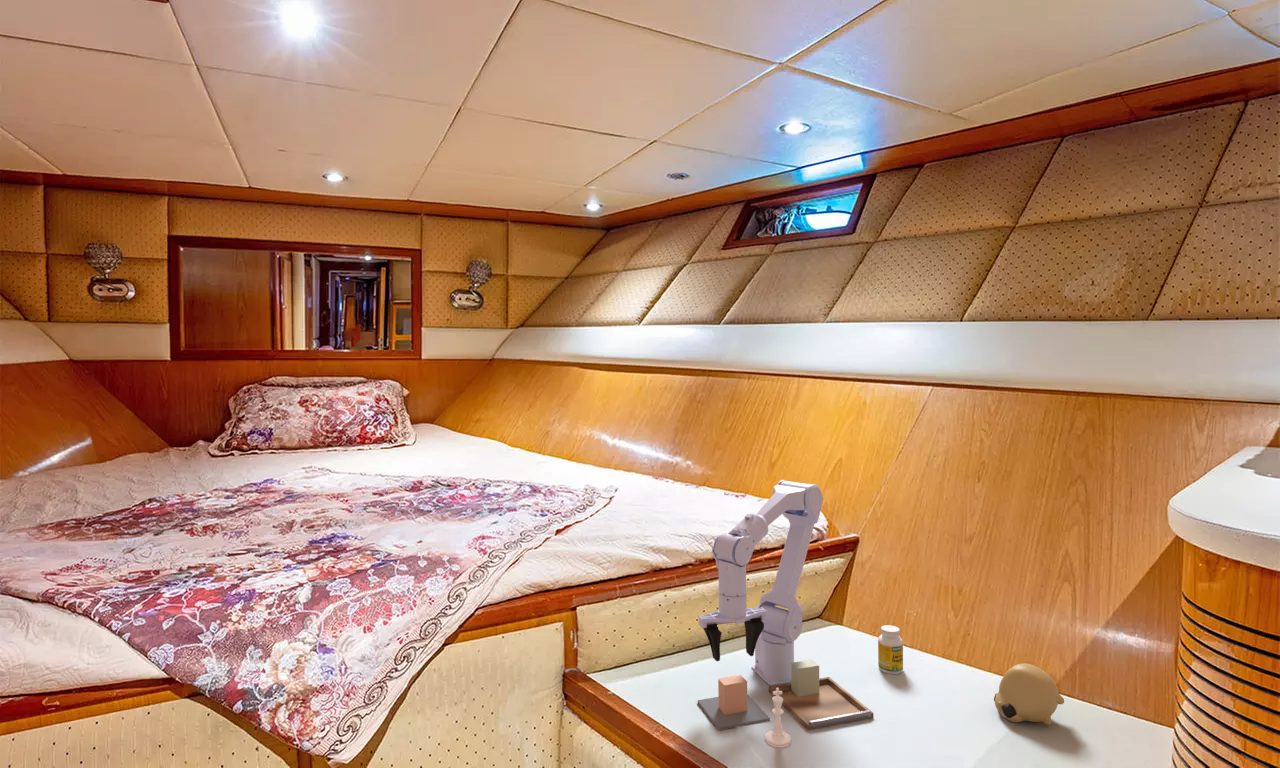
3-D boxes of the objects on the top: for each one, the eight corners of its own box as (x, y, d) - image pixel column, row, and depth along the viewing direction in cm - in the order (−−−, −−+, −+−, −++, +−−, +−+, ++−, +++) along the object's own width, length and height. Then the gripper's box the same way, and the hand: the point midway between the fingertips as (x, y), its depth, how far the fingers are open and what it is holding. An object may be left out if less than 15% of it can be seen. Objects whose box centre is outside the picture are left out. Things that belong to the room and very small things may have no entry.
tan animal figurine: (1018, 723, 137) (975, 684, 139) (1062, 684, 135) (1018, 645, 137) (1033, 749, 127) (987, 706, 130) (1080, 707, 125) (1033, 664, 127)
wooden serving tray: (769, 692, 144) (768, 685, 144) (828, 682, 148) (828, 675, 148) (807, 731, 129) (807, 723, 129) (873, 718, 133) (873, 710, 133)
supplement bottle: (887, 662, 158) (887, 621, 157) (908, 670, 153) (908, 629, 153) (873, 668, 155) (873, 627, 154) (893, 677, 150) (893, 634, 150)
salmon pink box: (718, 707, 137) (718, 678, 137) (740, 703, 138) (740, 674, 138) (724, 715, 134) (724, 685, 134) (747, 710, 135) (747, 681, 135)
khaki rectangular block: (791, 690, 144) (791, 662, 144) (811, 686, 146) (811, 659, 146) (798, 696, 142) (798, 668, 141) (819, 693, 143) (819, 665, 143)
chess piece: (761, 734, 128) (761, 682, 128) (786, 732, 128) (786, 681, 128) (768, 749, 123) (768, 695, 123) (794, 747, 123) (794, 694, 123)
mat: (697, 703, 140) (697, 700, 140) (745, 694, 143) (745, 692, 143) (718, 730, 129) (718, 727, 129) (769, 721, 133) (769, 718, 132)
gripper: (707, 602, 134) (708, 669, 134) (773, 594, 138) (773, 659, 139) (694, 591, 141) (695, 655, 141) (757, 584, 145) (758, 646, 145)
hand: (733, 656), depth 140 cm, fingers open, 7 cm apart
